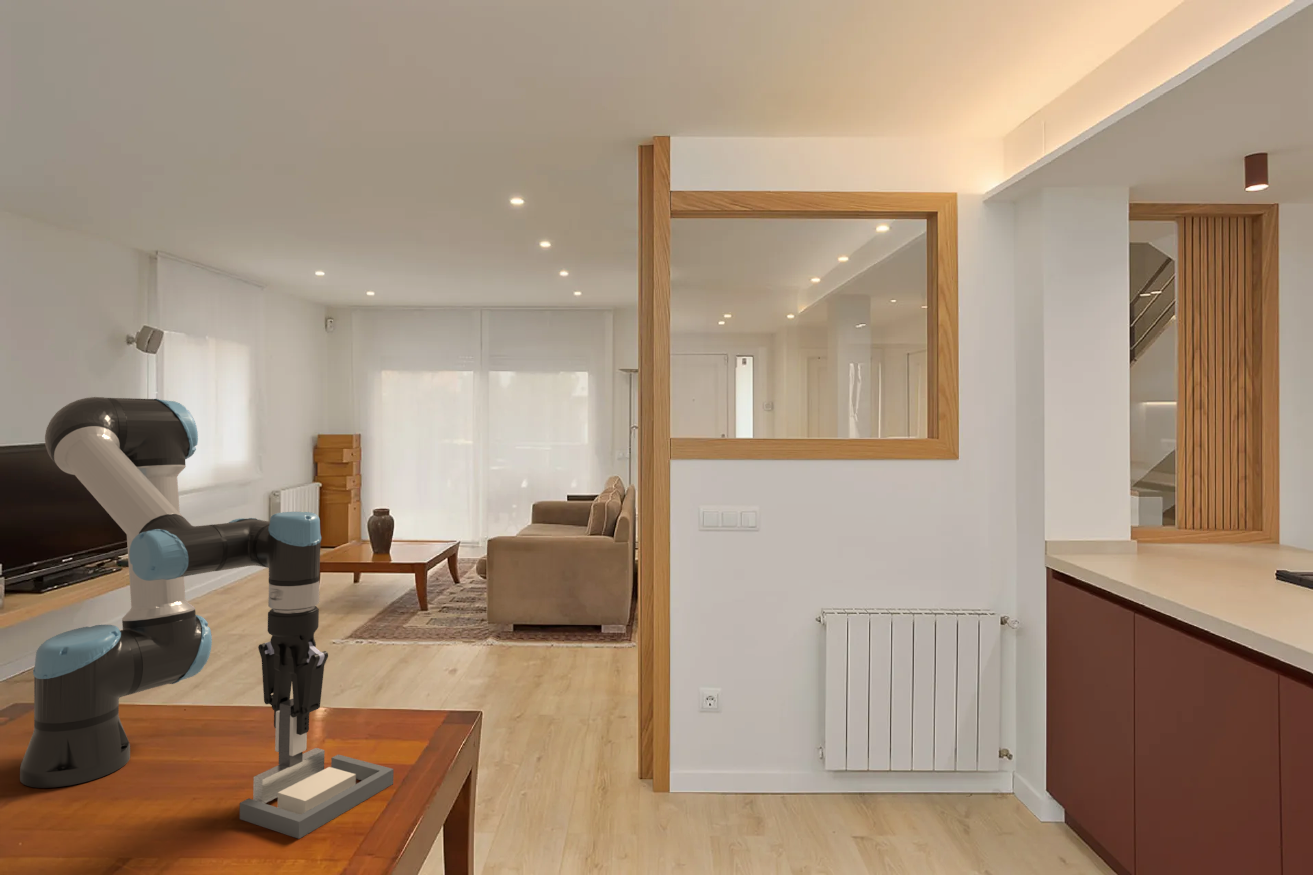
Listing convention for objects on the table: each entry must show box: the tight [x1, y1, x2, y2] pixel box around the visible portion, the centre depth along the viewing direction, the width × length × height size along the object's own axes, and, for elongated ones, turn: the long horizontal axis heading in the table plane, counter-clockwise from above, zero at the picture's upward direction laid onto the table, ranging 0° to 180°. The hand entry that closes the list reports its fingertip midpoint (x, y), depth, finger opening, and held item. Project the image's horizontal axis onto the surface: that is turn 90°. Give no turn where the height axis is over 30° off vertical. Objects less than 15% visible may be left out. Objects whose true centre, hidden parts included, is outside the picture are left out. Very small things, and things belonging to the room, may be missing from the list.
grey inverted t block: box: [252, 698, 325, 804], centre depth 124 cm, size 12×2×14 cm, turn 156°
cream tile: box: [277, 766, 357, 815], centre depth 122 cm, size 6×10×3 cm, turn 156°
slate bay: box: [239, 754, 395, 840], centre depth 122 cm, size 12×19×2 cm, turn 156°
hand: (290, 750), depth 124 cm, fingers closed on grey inverted t block, 2 cm apart
